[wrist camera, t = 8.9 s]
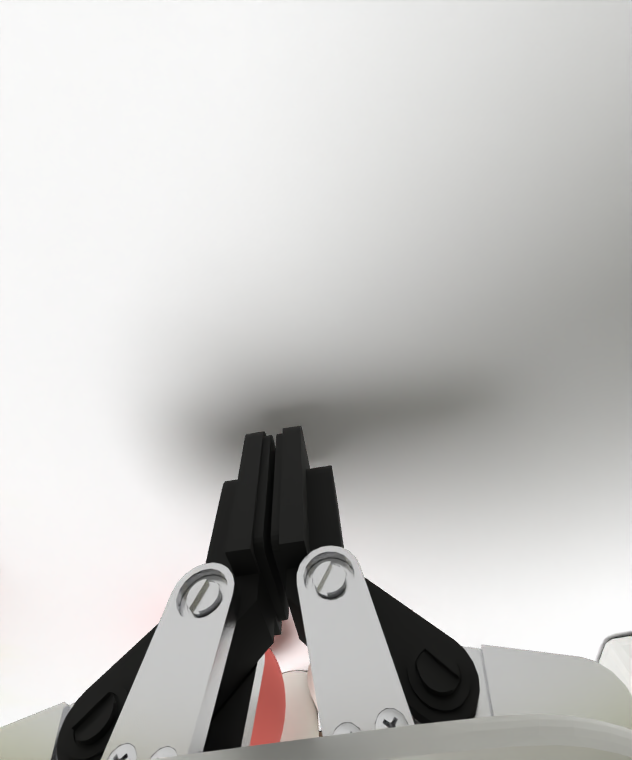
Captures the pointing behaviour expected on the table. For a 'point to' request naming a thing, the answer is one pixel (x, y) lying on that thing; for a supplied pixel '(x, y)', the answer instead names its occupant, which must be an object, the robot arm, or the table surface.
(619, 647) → the salt shaker
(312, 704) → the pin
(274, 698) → the ball
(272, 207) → the table surface
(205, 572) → the robot arm
